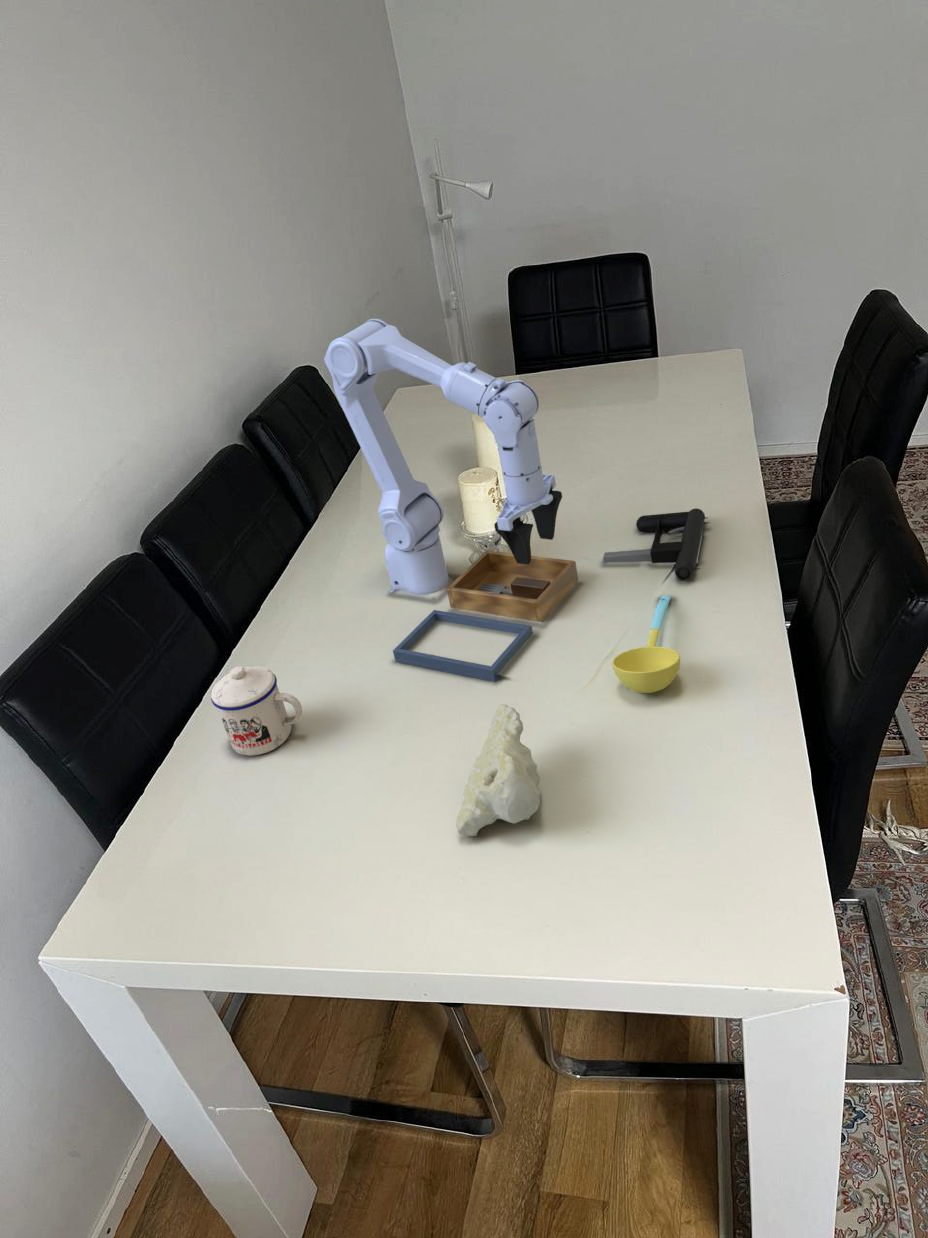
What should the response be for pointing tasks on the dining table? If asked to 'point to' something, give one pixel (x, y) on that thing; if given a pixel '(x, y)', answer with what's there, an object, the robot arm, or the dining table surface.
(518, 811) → the white rock
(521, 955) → the dining table surface
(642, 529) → the submachine gun
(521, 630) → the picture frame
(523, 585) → the fork
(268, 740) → the teacup with lid
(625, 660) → the ladle
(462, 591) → the wooden box
